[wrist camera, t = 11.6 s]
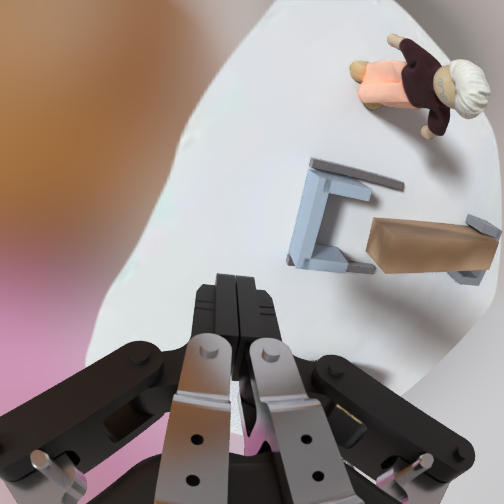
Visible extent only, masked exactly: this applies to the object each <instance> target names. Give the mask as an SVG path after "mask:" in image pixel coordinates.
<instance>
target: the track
mask: <svg viewBox="0 0 504 504" xmlns="http://www.w3.org/2000/svg"><path fill="white" fill-rule="evenodd" d="M309 166H310V167H312V168H317V169H321V170H326V171H330V172H335V173H339V174H343V175H347V176H351V177H355V178H359V179H363V180H367V181H371V182H375V183H378V184H382V185H386V186H389V187H393V188H396V189H400V190H402V189H403V186H404V183H403V182H401V181H399V180H396V179H392V178H389V177H386V176H382V175H379V174H375V173H372V172H368V171H365V170H361V169H357V168H353V167H349V166H345V165H341V164H337V163H333V162H329V161H325V160H320V159H316V158H311V159H310V164H309ZM286 262H287V265H289V266H295V265H294V263H293V260H292V258H291V256H290V254H288V255H287V259H286ZM347 262H348V263H349V264H348V267H347V269H346V272H356V273H365V274H373V273H374V270H375V267H374V266H373V265H372V264H366V263H358V262H350V261H347Z"/></svg>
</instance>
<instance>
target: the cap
mask: <svg viewBox="0 0 504 504" xmlns="http://www.w3.org/2000/svg"><path fill="white" fill-rule="evenodd" d="M371 192H372V189H371V188H369V187H367V186H366V185H364V184H362V183H361V182H359V181H357V180H354V179H350V178H346V177H342V176H338V175H333V174H329V173H324V172H320V171H315V170H310V169H308V173H307V177H306V181H305V186H304V190H303V194H302V199H301V203H300V207H299V211H298V215H297V219H296V223H295V228H294V232H293V236H292V240H291V244H290V248H289V253H290V256H291V258H292V260H293V263H294V265H295V267H296V268H298V269H308V270H317V271H327V272H337V273H345V272H346V269H347V267H348V264H349V263H348V262H347V260H346V259H345V257H344V256H343V255H342V253H341V252H340V251H339V249H338V248H337V247H332V246H324V245H317V244H315V242H316V238H317V235H318V231H319V228H320V224H321V220H322V217H323V213H324V209H325V206H326V202H327V198H328V194H329V193H332V194H337V195H341V196H346V197H351V198H355V199H360V200H364V201H369V199H370V195H371Z"/></svg>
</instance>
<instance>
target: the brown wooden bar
mask: <svg viewBox="0 0 504 504" xmlns="http://www.w3.org/2000/svg"><path fill="white" fill-rule="evenodd" d="M498 244H499V242H498V241H496V240H495V239H494V238H492V237H491V236H489V235H487V234H484V233H481V232H480V231H478V230H477V229H475V228H474V227H472V226H464V225H455V224H445V223H435V222H425V221H414V220H402V219H389V218H376V217H373V221H372V226H371V230H370V235H369V239H368V243H367V247H366V252H367V253H368V254H369V255H370V257H371V258H372V259H373V260H374V261H375V262H376V263H377V265H378V266H379V267H380V268H381V269H382V270H383V272H384V273H385V274H391V273H424V272H450V271H472V270H489V268H490V266H491V263H492V261H493V258H494V255H495V252H496V249H497V247H498Z"/></svg>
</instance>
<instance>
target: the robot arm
mask: <svg viewBox="0 0 504 504" xmlns="http://www.w3.org/2000/svg"><path fill="white" fill-rule="evenodd" d="M230 376H231V378H232V381H239V388H240V389H239V393H238V397H237V398H238V405H239V411H240V418H241V423H242V429H243V435H244V442H245V448H244V456H243V455H239V454H234V453H230V452H229V440H230V417H231V402H230V401H229V393H230ZM337 404H338V405H339V406H340V407H342V408H343V409H344V410H346V411H347V412H349V413H350V414H351V415H353V416H354V417H355V418H357V419H358V420H360V421H361V422H362V423H364V424H365V425H362V424H360V423H359V422H357V421H356V420H354V419H353V418H352V417H350V416H349V415H348V414H346V413H345V412H344V411H342V410H341V409H340V408H338V407H337ZM165 412H170V415H169V420H168V425H167V430H166V435H165V440H164V446H163V451H162V454H158V455H155V456H152V457H149V458H147V459H145V460H142V461H141V462H139V463H138V464H136V465H135V466H133V467H132V468H131V469H130V470H128V471H127V472H126V473H125V474H124V475H122V476H121V477H120V478H119V479H117V480H116V481H115V482H114V483H113V484H111V485H110V486H109V487H107V488H106V489H105V490H104V491H102V492H101V493H100V494H99V495H97V496H96V497H95V498H93V499H92V500H91V501H89V502H88V503H86V504H440V502H441V500H442V498H443V496H444V494H445V492H446V490H447V488H448V485H449V483H450V482H451V481H452V480H453V479H455V478H457V477H458V476H460V475H461V474H462V473H464V472H465V471H467V470H468V469H470V468H471V467H472V465H473V463H474V461H475V451H474V448H473V446H472V445H471V443H470V442H469V441H468V440H466V439H465V438H463V437H462V436H460V435H458V434H457V433H455V432H454V431H452V430H450V429H449V428H447V427H446V426H444V425H443V424H441V423H440V422H438V421H437V420H435V419H433V418H432V417H430V416H429V415H427V414H426V413H424V412H423V411H421V410H420V409H418V408H417V407H415V406H414V405H412V404H411V403H409V402H408V401H406V400H405V399H403V398H402V397H400V396H399V395H397V394H396V393H394V392H393V391H391V390H390V389H388V388H387V387H385V386H384V385H382V384H381V383H380V382H378V381H377V380H375V379H374V378H372V377H371V376H369V375H368V374H366V373H365V372H364V371H362V370H361V369H359V368H358V367H356V366H355V365H354V364H352V363H351V362H349V361H348V360H346V359H345V358H343V357H340V356H337V355H325V356H323V357H321V358H320V359H319V360H318V362H317V363H316V362H312V361H308V360H304V359H301V358H298V357H296V356H294V355H293V354H292V352H291V350H290V348H289V347H288V346H287V345H286V344H285V343H283V342H282V338H281V334H280V330H279V326H278V321H277V317H276V313H275V309H274V304H273V300H272V298H271V297H270V295H269V294H268V293H267V292H266V291H265V290H256V286H255V280H254V277H247V276H237V275H236V276H235V275H228V274H219V273H217V275H216V282H215V285H207V284H202V286H201V287H200V288H199V289H198V290H197V292H196V300H195V308H194V316H193V324H192V333H191V338H190V340H189V341H188V343H187V344H186V345H184V346H183V347H181V348H179V349H176V350H171V351H163V352H161V351H160V349H159V348H158V347H157V346H155V345H154V344H152V343H149V342H146V341H133V342H130V343H127V344H125V345H124V346H122V347H120V348H119V349H117V350H115V351H114V352H112V353H110V354H109V355H107V356H105V357H103V358H102V359H100V360H98V361H97V362H95V363H93V364H91V365H90V366H88V367H86V368H85V369H83V370H81V371H79V372H78V373H76V374H75V375H73V376H71V377H69V378H68V379H66V380H64V381H62V382H61V383H59V384H57V385H55V386H54V387H52V388H50V389H48V390H47V391H45V392H43V393H41V394H40V395H38V396H36V397H34V398H33V399H31V400H29V401H27V402H26V403H24V404H22V405H20V406H18V407H17V408H15V409H13V410H11V411H10V412H8V413H6V414H4V415H3V416H1V417H0V478H1V479H2V480H3V481H4V482H5V484H6V486H7V487H8V489H9V491H10V492H11V494H12V495H13V497H14V499H15V500H16V502H17V503H18V504H77V502H78V501H79V500H80V499H81V498H82V497H83V496H84V494H85V492H86V490H87V481H86V478H85V476H84V474H85V473H87V472H88V471H90V470H91V469H93V468H94V467H95V466H97V465H98V464H100V463H101V462H103V461H104V460H105V459H107V458H108V457H110V456H111V455H112V454H114V453H115V452H116V451H118V450H119V449H121V448H122V447H123V446H125V445H126V444H127V443H129V442H130V441H131V440H133V439H134V438H135V437H137V436H138V435H139V434H141V433H142V432H143V431H144V430H146V429H147V428H148V427H149V426H151V425H152V424H153V423H155V422H156V421H157V420H158V419H160V418H161V417H162V416H163V415H164V413H165ZM341 457H342V458H344V459H345V460H346V461H348V462H349V463H350V464H352V465H353V466H355V467H356V468H358V469H359V470H361V471H362V472H363V473H365V474H366V475H368V476H369V477H371V478H372V479H374V480H375V481H376V485H375V484H373V483H372V482H371V481H369V480H368V479H367V478H365V477H364V476H363V475H361V474H360V473H359V472H357V471H356V470H355V469H353V468H352V467H351V466H349V465H348V464H346V463H345V462H343V460H342V458H341Z"/></svg>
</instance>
